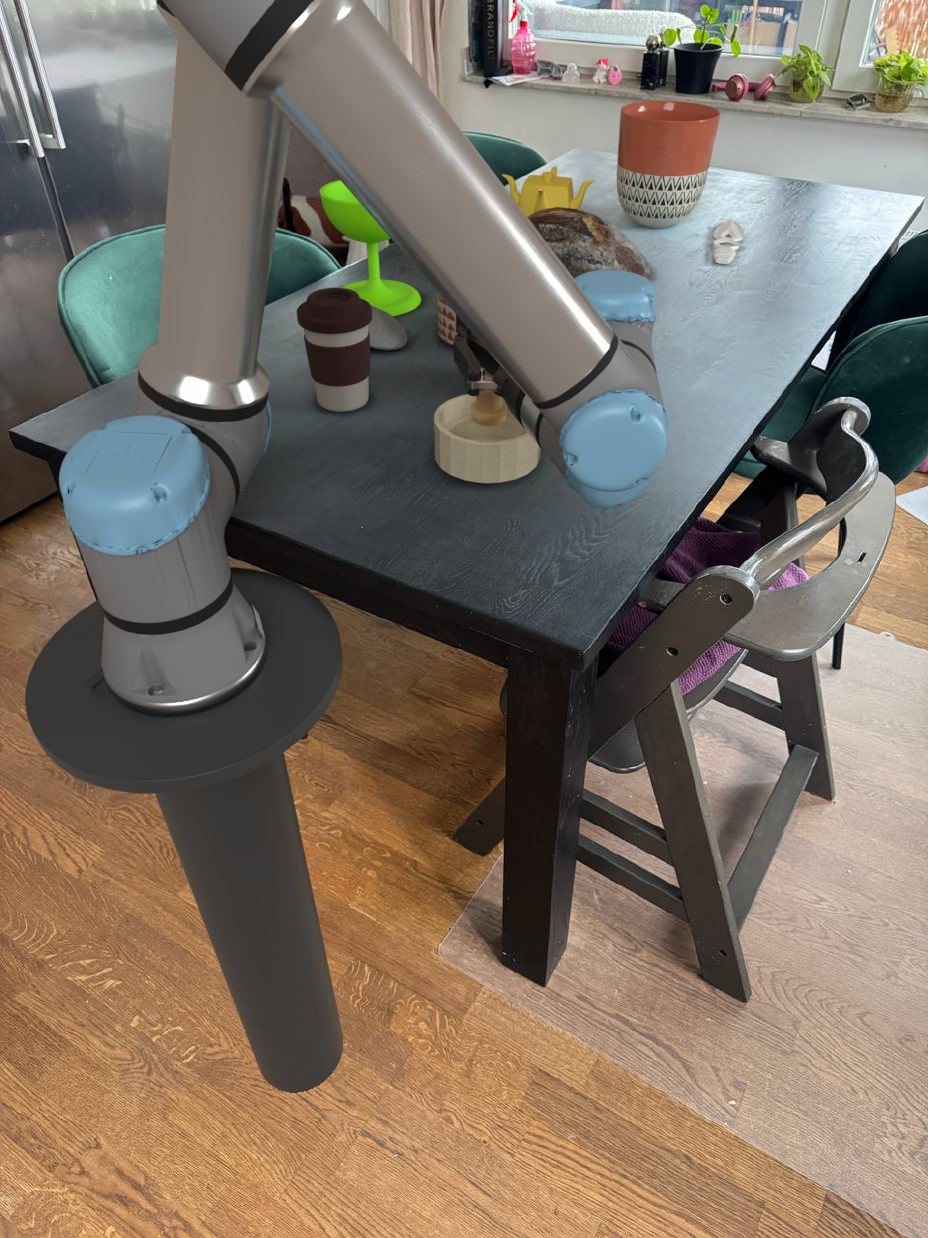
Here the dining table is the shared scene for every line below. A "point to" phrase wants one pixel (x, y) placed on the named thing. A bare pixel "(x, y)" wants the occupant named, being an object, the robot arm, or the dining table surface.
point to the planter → (664, 159)
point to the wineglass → (365, 229)
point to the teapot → (546, 192)
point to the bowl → (481, 445)
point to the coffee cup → (337, 346)
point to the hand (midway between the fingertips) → (474, 318)
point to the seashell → (386, 331)
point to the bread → (588, 242)
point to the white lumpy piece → (723, 252)
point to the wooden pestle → (488, 408)
